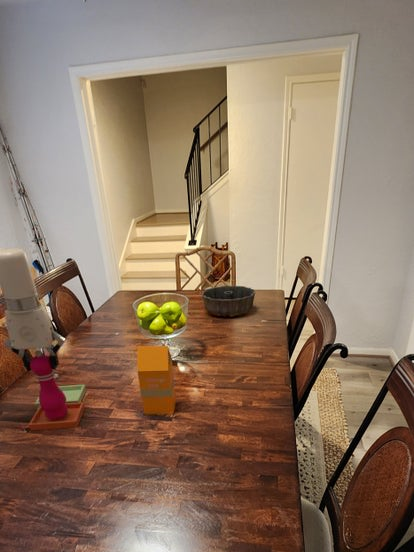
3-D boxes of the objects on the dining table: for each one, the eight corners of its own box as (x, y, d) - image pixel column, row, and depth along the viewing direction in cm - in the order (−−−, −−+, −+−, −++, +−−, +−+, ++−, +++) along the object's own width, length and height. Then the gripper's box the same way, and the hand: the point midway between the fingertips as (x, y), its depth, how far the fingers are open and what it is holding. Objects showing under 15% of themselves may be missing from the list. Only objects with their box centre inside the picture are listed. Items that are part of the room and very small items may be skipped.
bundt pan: (200, 305, 196) (199, 286, 191) (249, 302, 198) (249, 283, 193) (205, 322, 174) (204, 301, 168) (260, 318, 175) (261, 297, 170)
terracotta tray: (30, 430, 105) (28, 424, 104) (41, 410, 113) (39, 405, 112) (77, 427, 105) (75, 421, 104) (85, 407, 114) (83, 402, 113)
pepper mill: (62, 404, 113) (45, 343, 102) (74, 412, 108) (56, 350, 98) (39, 413, 109) (18, 351, 98) (50, 423, 104) (29, 359, 94)
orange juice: (148, 400, 116) (139, 341, 105) (176, 400, 115) (170, 340, 105) (144, 414, 109) (133, 352, 99) (173, 414, 109) (166, 351, 98)
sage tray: (36, 409, 114) (34, 403, 113) (46, 392, 123) (44, 387, 122) (79, 405, 115) (77, 400, 114) (86, 389, 124) (84, 384, 123)
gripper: (-20, 309, 88) (5, 376, 97) (54, 305, 88) (71, 372, 98) (-7, 300, 94) (15, 364, 104) (62, 296, 95) (78, 360, 104)
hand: (42, 367), depth 101 cm, fingers closed on pepper mill, 6 cm apart
